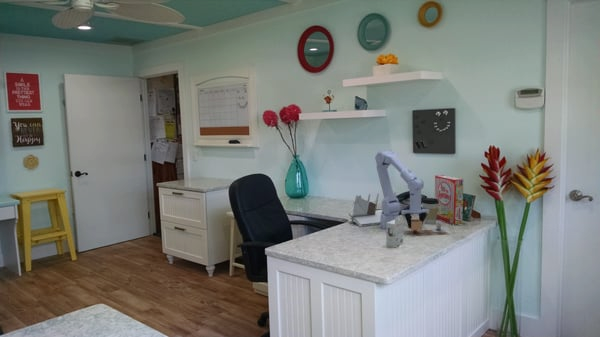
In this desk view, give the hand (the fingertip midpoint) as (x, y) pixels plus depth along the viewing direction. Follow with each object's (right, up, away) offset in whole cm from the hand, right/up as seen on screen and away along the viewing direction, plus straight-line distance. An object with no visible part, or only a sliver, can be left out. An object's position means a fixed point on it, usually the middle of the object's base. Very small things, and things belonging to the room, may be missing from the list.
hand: (415, 227), depth 237 cm
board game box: (+28, -1, +33) cm, 43 cm away
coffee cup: (+15, -2, +25) cm, 29 cm away
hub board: (+7, -4, +1) cm, 8 cm away
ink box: (-15, -7, -18) cm, 24 cm away
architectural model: (-16, -2, +33) cm, 36 cm away
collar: (0, -1, 0) cm, 1 cm away
